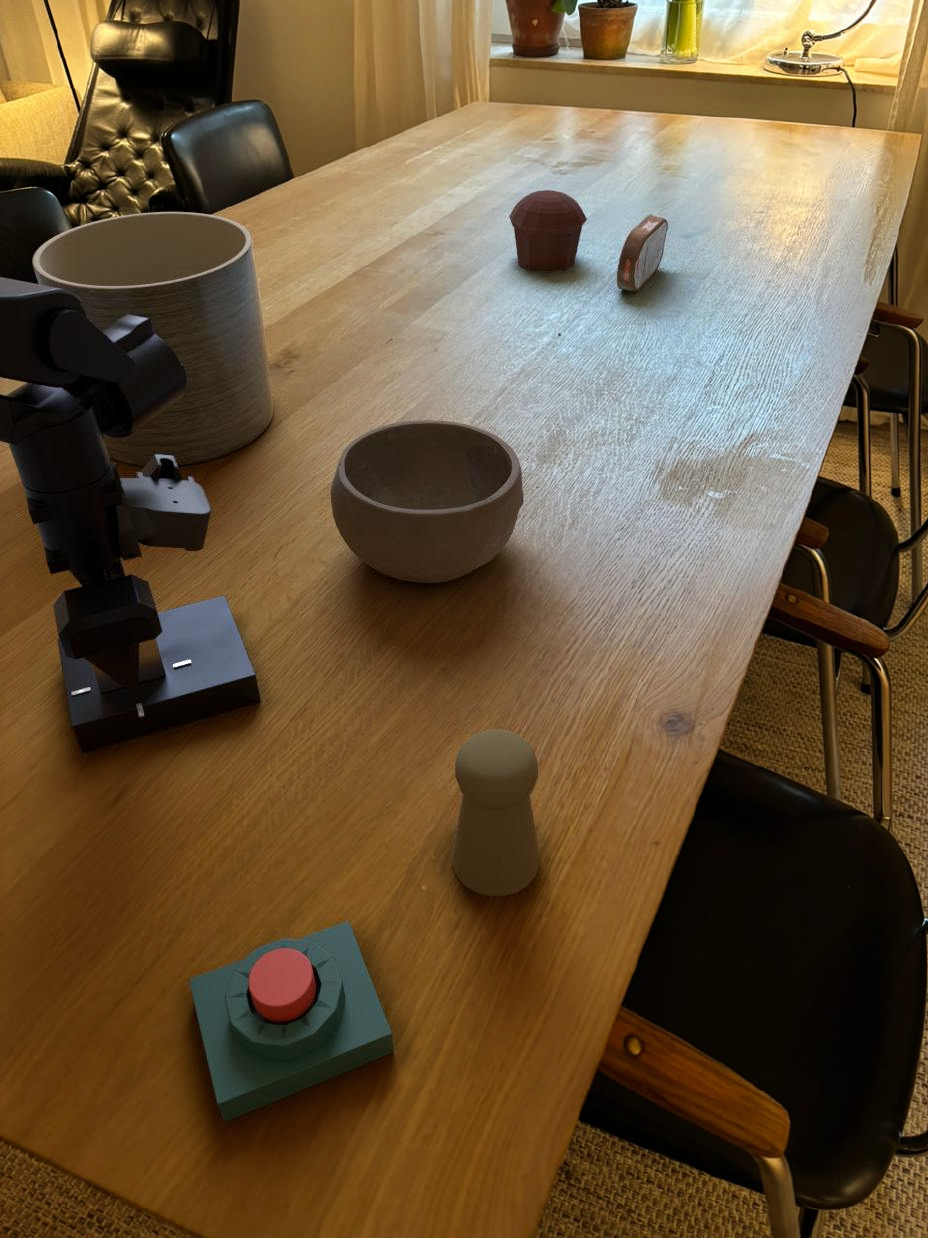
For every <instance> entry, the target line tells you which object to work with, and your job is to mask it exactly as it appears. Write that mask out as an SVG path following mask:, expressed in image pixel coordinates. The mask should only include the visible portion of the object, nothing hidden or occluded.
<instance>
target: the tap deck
mask: <svg viewBox="0 0 928 1238" xmlns="http://www.w3.org/2000/svg"><path fill="white" fill-rule="evenodd" d="M157 613H158V616H159V620H160V624H161V627H162V631H163V632H162V633H161V634H160V635H159V636H158V637H157V638H156V641H157V644H158V648H159V651H160V655H161V659H162V662H163V666H164V669H165V673H166V676H162V677H158V678H155V679H151V680H147V681H144V682H140V683H138V684H137V685H134V686H131V687H127V688H124V687H122V688H118V689H115V690H111V691H108V692H104V693H101V692H100V689H99V686H98V683H97V680H96V677H95V674H94V671H93V669H92V666H91V663H90V662H89V661H87V660H86V659H84V658H81V659H77V660H75V659H72V658H68V657H66V655H65V652H64V650H63V647H62V644H61V641H60V639H59V637H58V638H56V639H57V640H56V641H57V646H58V651H59V658H60V665H61V671H62V676H63V681H64V688H65V694H66V701H67V706H68V707H67V708H68V712H69V719H70V724H71V729H72V731H73V733H74V737H75V740H76V741H77V744H78V747H79V749H80V752H81V754H85V753H89V752H93V751H96V750H100V749H103V748H106V747H109V746H113V745H116V744H119V743H124V742H126V741H127V742H128V741H130V740H135V739H137V738H141V737H144V736H147V735H151V734H154V733H157V732H161V731H164V730H169V729H172V728H175V727H178V726H182V725H185V724H189V723H192V722H195V721H198V720H202V719H206V718H209V717H213V716H216V715H220V714H223V713H226V712H230V711H233V710H236V709H240V708H244V707H247V706H250V705H253V704H258V703H260V702H262V700H261V699H262V698H261V693H260V690H259V684H258V678H257V674H256V671H255V669H254V666H253V664H252V662H251V659H250V657H249V653H248V651H247V648H246V646H245V644H244V641H243V638H242V635H241V632H240V630H239V628H238V625H237V623H236V620H235V618H234V614H233V612H232V609H231V607H230V604H229V601H228V599H227V597H226V595H220V596H217V597H216V596H215V597H213V598H209V599H204V600H201V601H197V602H194V603H193V602H192V603H190V604H185V605H181V606H178V607H174V608H170V609H166V610H162V611H159V612H158V611H157Z"/></svg>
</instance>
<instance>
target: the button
mask: <svg viewBox="0 0 928 1238" xmlns="http://www.w3.org/2000/svg"><path fill="white" fill-rule="evenodd" d="M248 985H249V990H250V993H251V997H252V1000H253V1004H254V1006H255V1009H256V1010H257V1012H258V1013H259V1014H260V1015H261V1016H262V1017H264V1018H265V1019H267V1020H270V1021H273V1022H287V1021H291V1020H294V1019H296V1018H298V1017H299V1016H301V1015H302V1014H304V1013H305V1012H306V1011H307V1010H308V1008H309V1007H310V1006H311V1004H312V1002H313V1000H314V998H315V994H316V983H315V978H314V973H313V969H312V965H311V963H310V961H309V959H308V958H307V957H306V956H305V955H304V954H302V953H301V952H299V951H297V950H294V949H287V948H283V949H276V950H273V951H271V952H268V953H267V954H265V955H264V956H262V957H261V958H260V959H259V960H258V961H257V962H256V963H255V965H254V966H253V968H252V970H251V972H250V975H249V980H248Z"/></svg>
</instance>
